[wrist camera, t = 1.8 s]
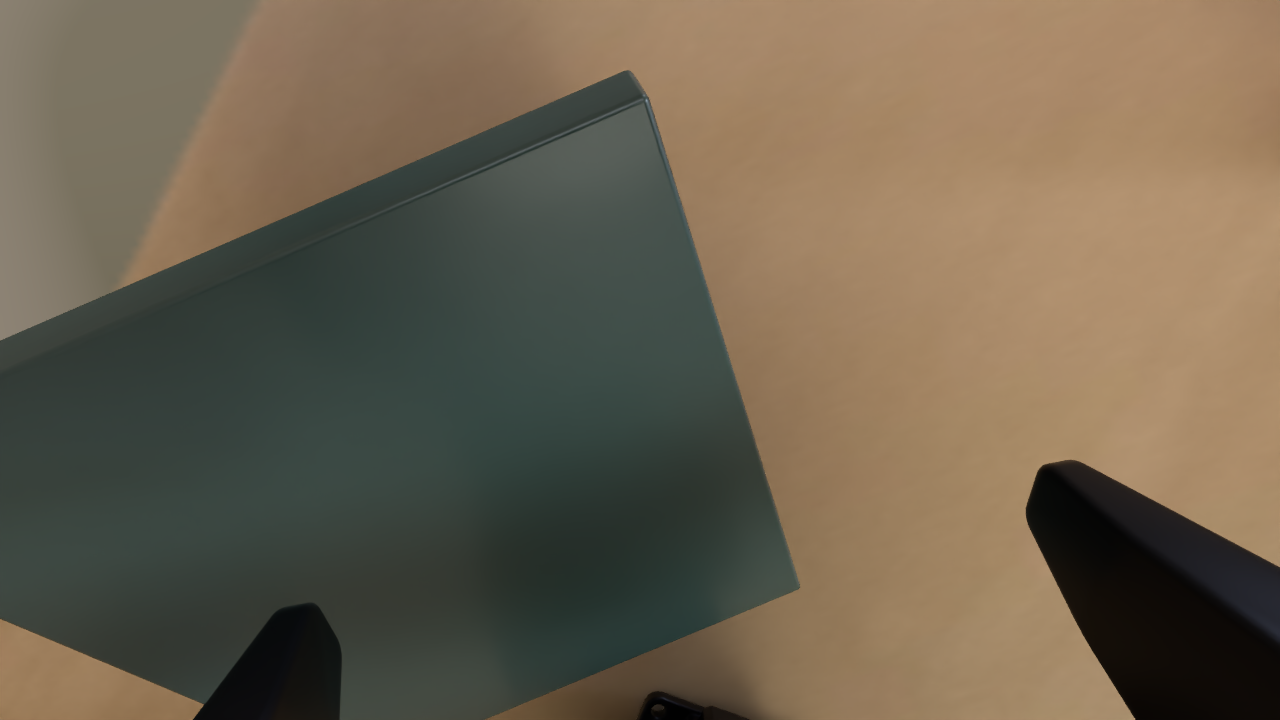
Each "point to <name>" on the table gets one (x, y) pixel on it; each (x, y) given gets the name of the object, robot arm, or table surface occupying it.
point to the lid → (402, 434)
